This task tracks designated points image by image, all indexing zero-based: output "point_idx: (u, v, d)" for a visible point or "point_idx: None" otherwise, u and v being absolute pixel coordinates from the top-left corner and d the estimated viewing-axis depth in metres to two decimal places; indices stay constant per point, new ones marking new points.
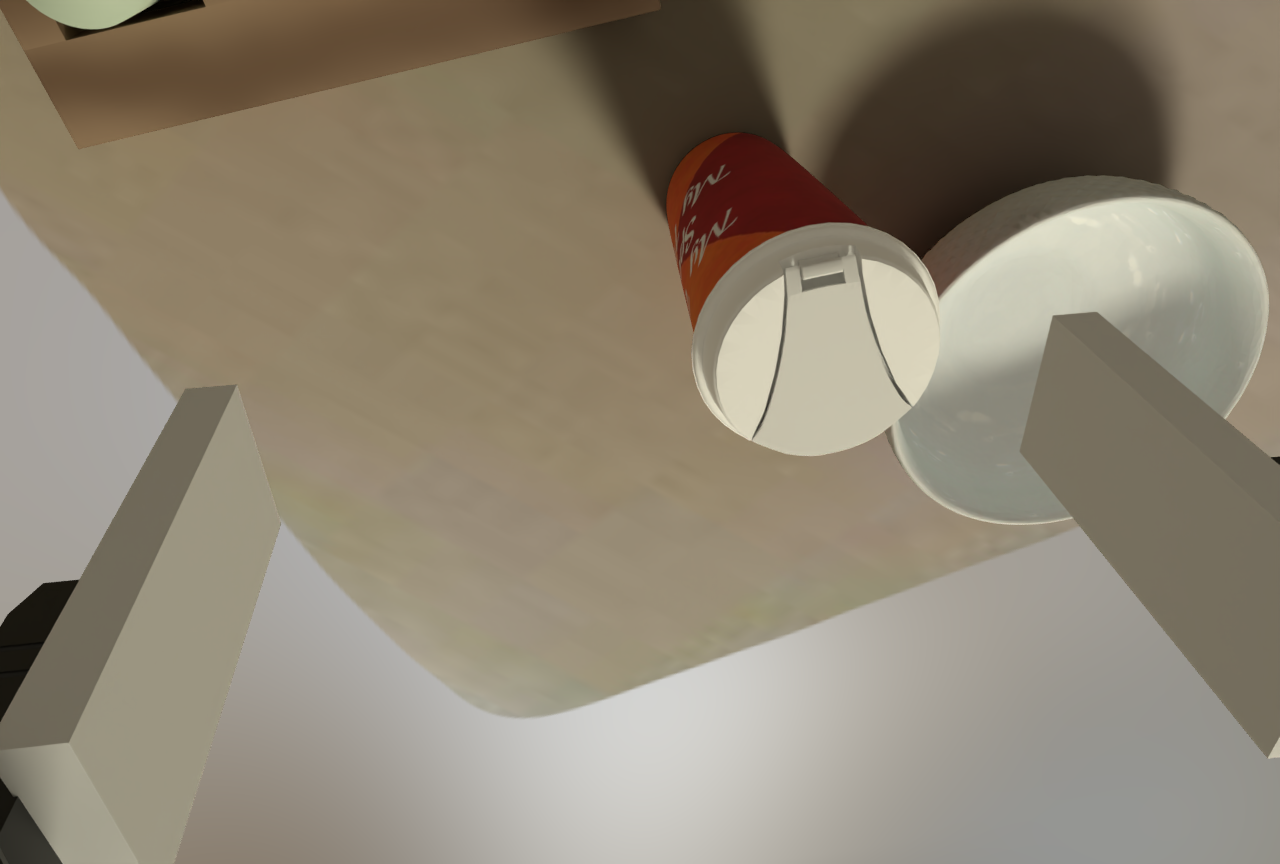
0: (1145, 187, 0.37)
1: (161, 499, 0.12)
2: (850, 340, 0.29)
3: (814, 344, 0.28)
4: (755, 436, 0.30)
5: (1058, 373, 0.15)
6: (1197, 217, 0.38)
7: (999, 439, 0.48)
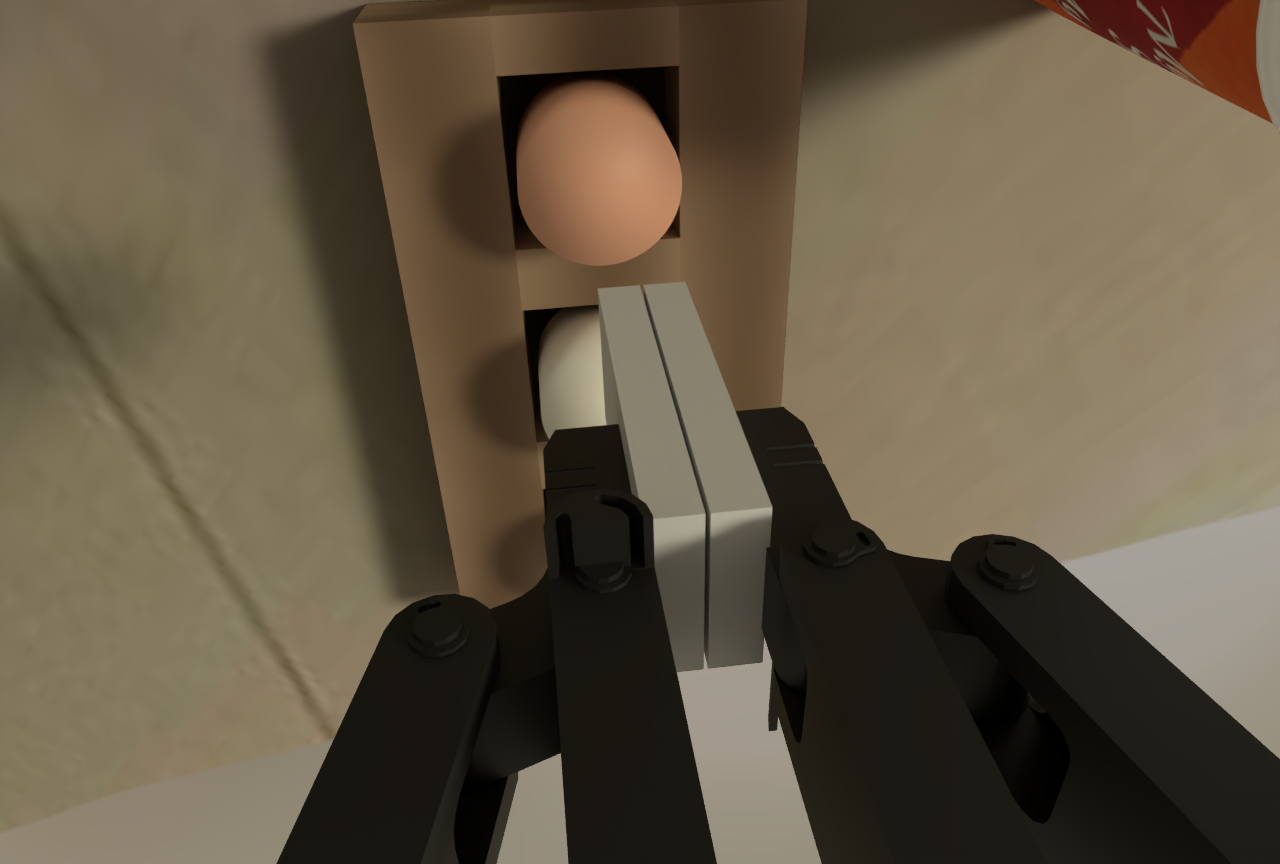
0: None
1: (643, 363, 0.14)
2: None
3: None
4: None
5: None
6: None
7: None
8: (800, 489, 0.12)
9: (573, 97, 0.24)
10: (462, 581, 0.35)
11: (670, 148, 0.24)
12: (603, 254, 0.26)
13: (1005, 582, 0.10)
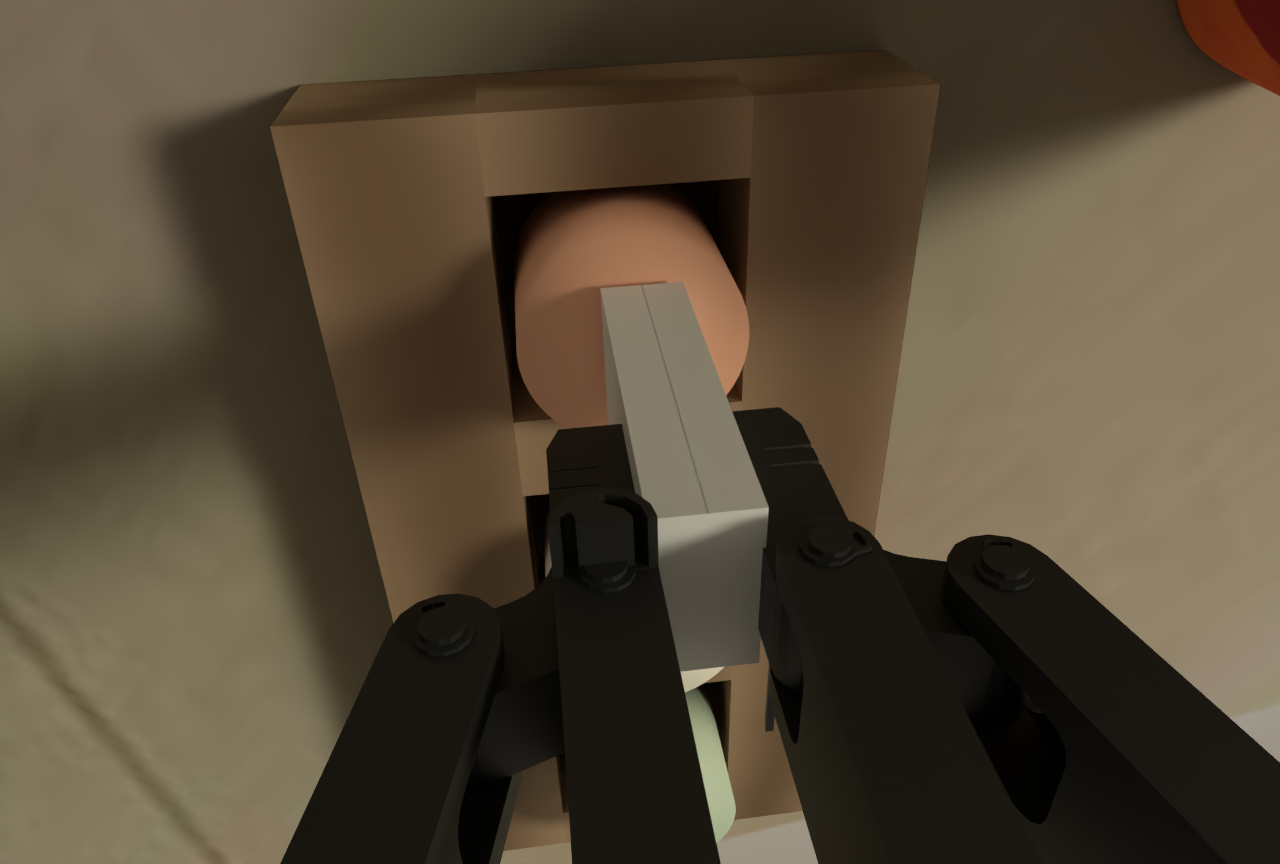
0: None
1: (646, 363, 0.14)
2: None
3: None
4: None
5: None
6: None
7: None
8: (797, 490, 0.12)
9: (596, 218, 0.17)
10: None
11: (734, 291, 0.17)
12: None
13: (1001, 582, 0.10)
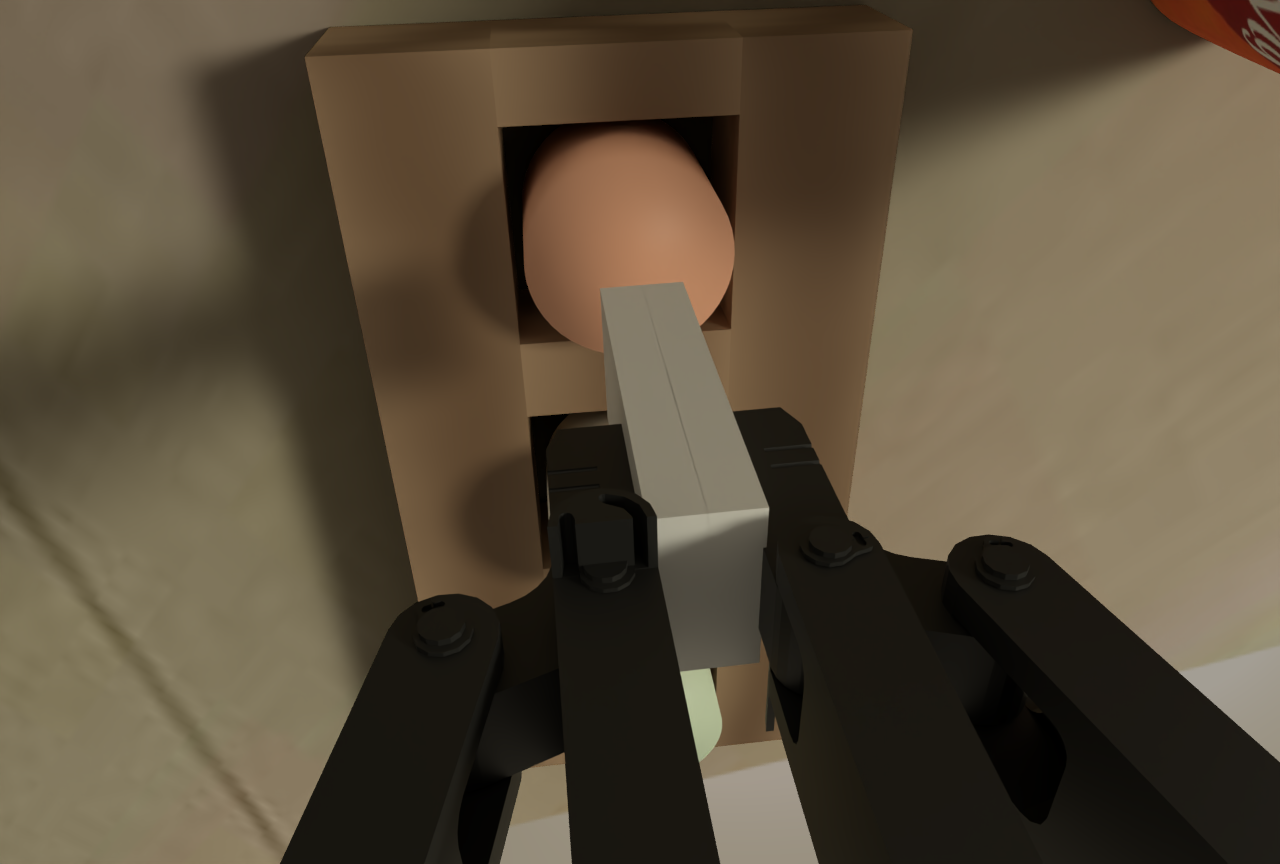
0: None
1: (646, 363, 0.14)
2: None
3: None
4: None
5: None
6: None
7: None
8: (797, 490, 0.12)
9: (597, 145, 0.19)
10: None
11: (721, 212, 0.19)
12: None
13: (1001, 582, 0.10)
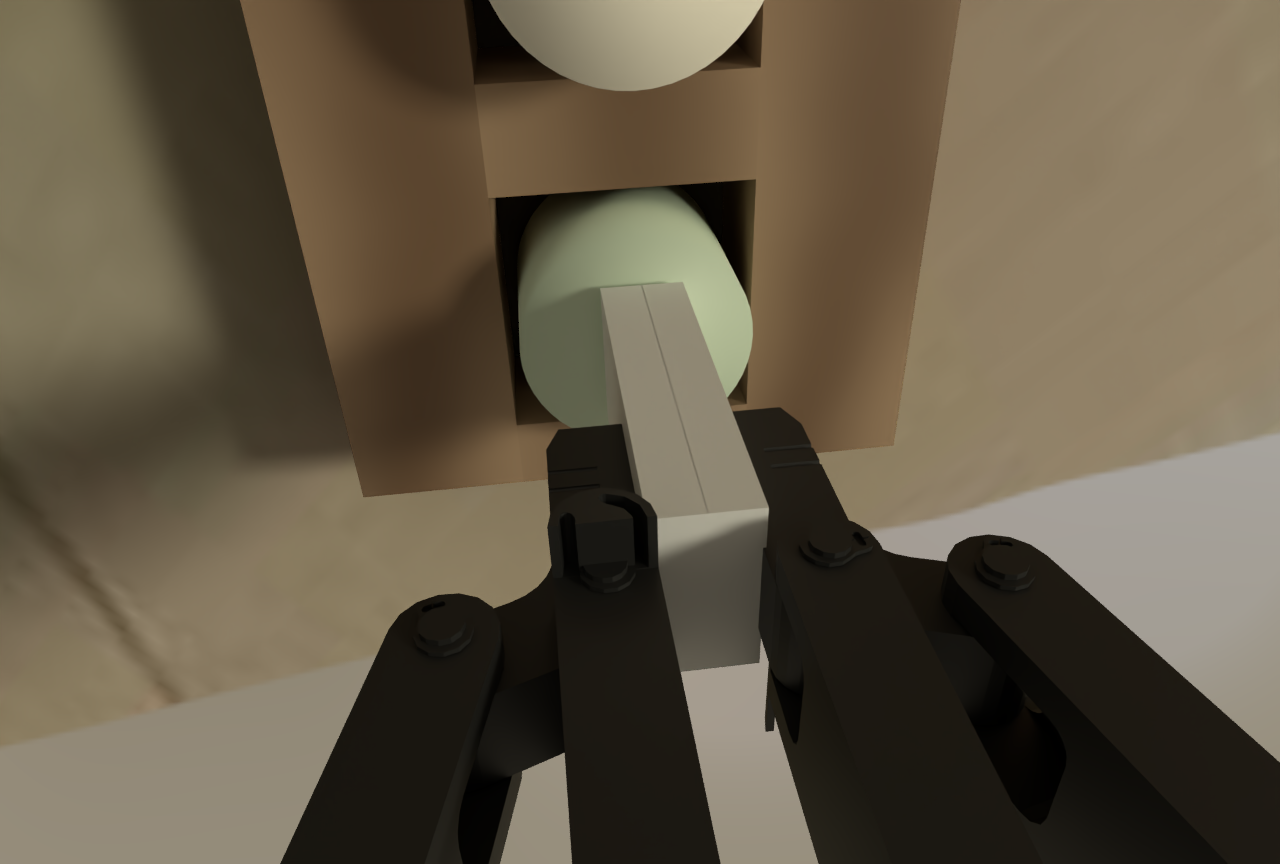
0: None
1: (646, 363, 0.14)
2: None
3: None
4: None
5: None
6: None
7: None
8: (797, 489, 0.12)
9: None
10: (347, 398, 0.19)
11: None
12: None
13: (1002, 582, 0.10)
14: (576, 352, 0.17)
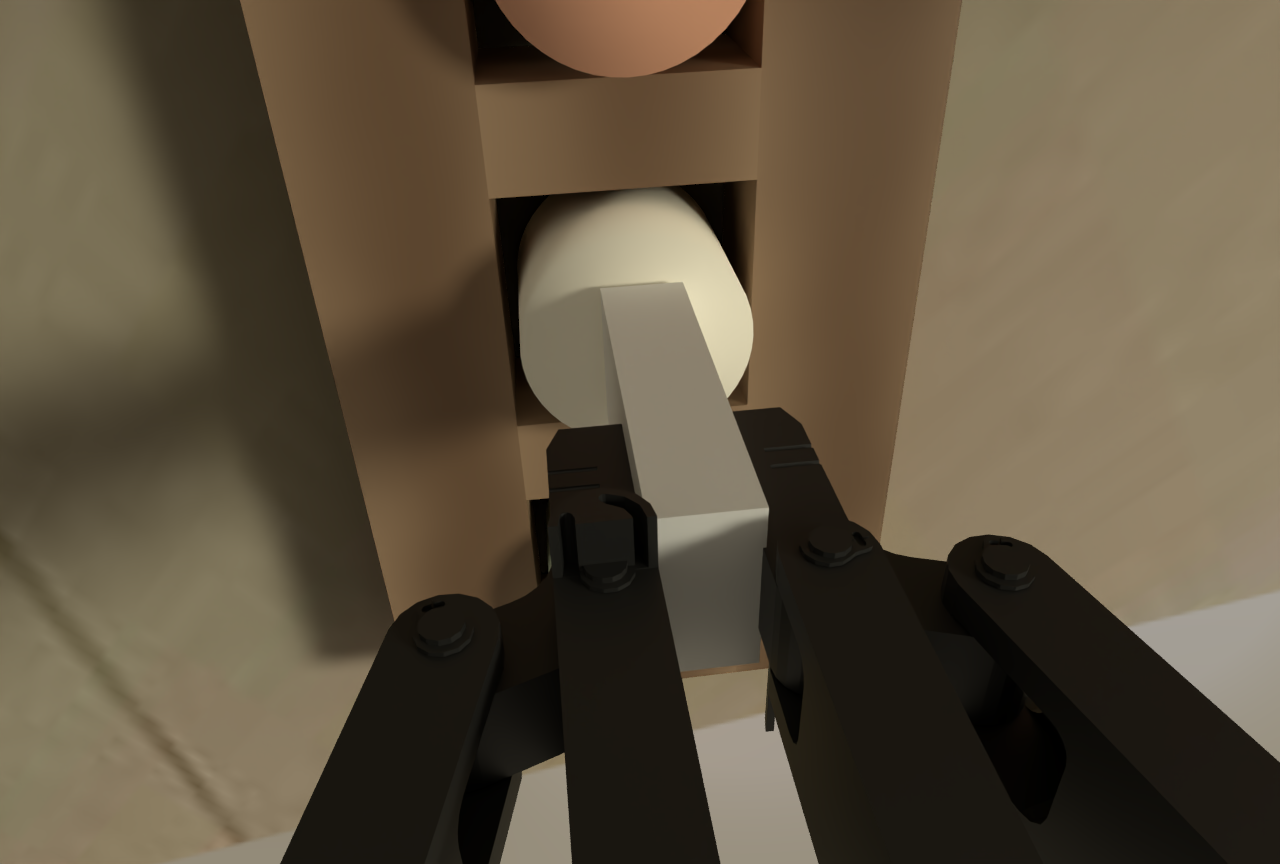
0: None
1: (646, 363, 0.14)
2: None
3: None
4: None
5: None
6: None
7: None
8: (797, 490, 0.12)
9: None
10: None
11: None
12: (626, 55, 0.15)
13: (1001, 581, 0.10)
14: None
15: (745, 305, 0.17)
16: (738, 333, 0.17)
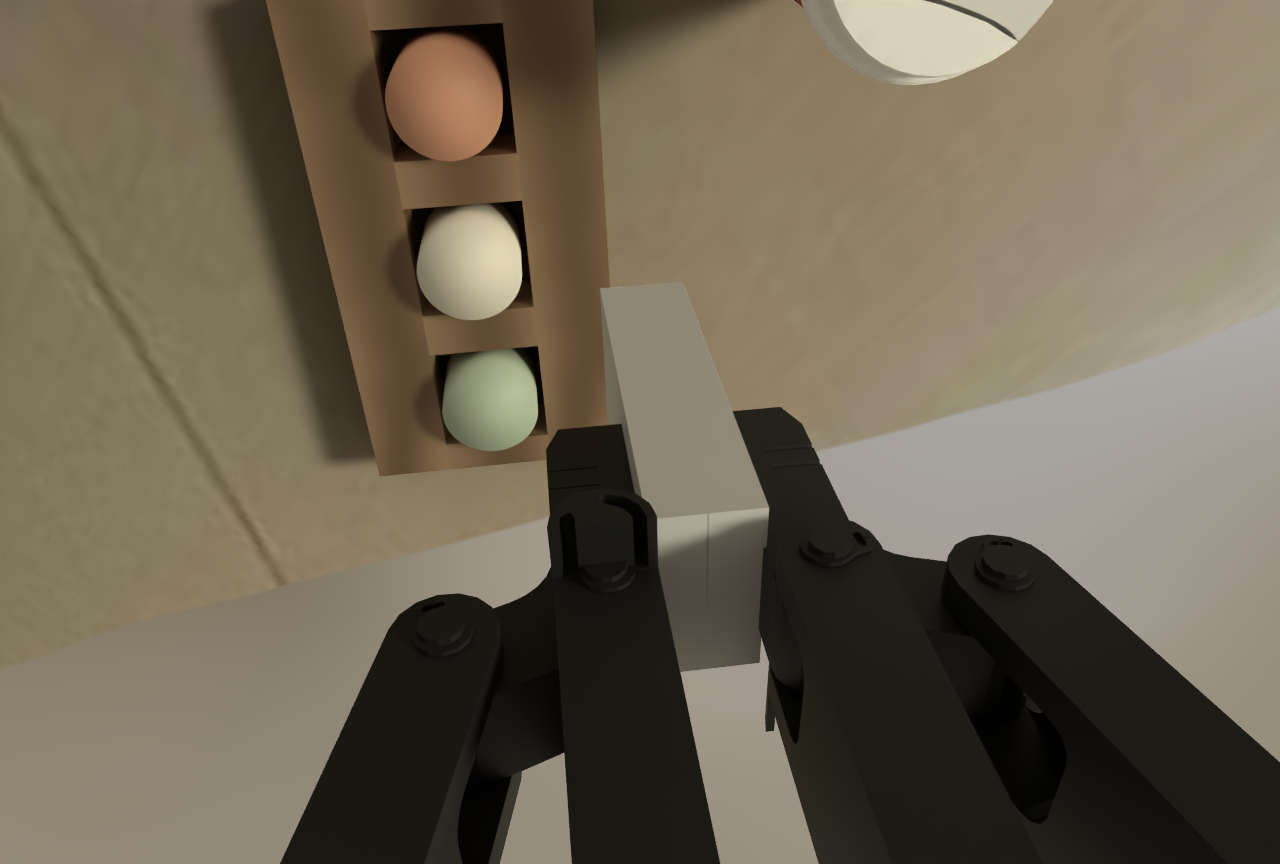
0: None
1: (646, 363, 0.14)
2: None
3: None
4: (1016, 35, 0.26)
5: None
6: None
7: None
8: (797, 490, 0.12)
9: (423, 39, 0.35)
10: (373, 433, 0.45)
11: (491, 74, 0.35)
12: (451, 152, 0.36)
13: (1002, 582, 0.10)
14: (466, 415, 0.43)
15: (516, 255, 0.39)
16: (514, 268, 0.39)
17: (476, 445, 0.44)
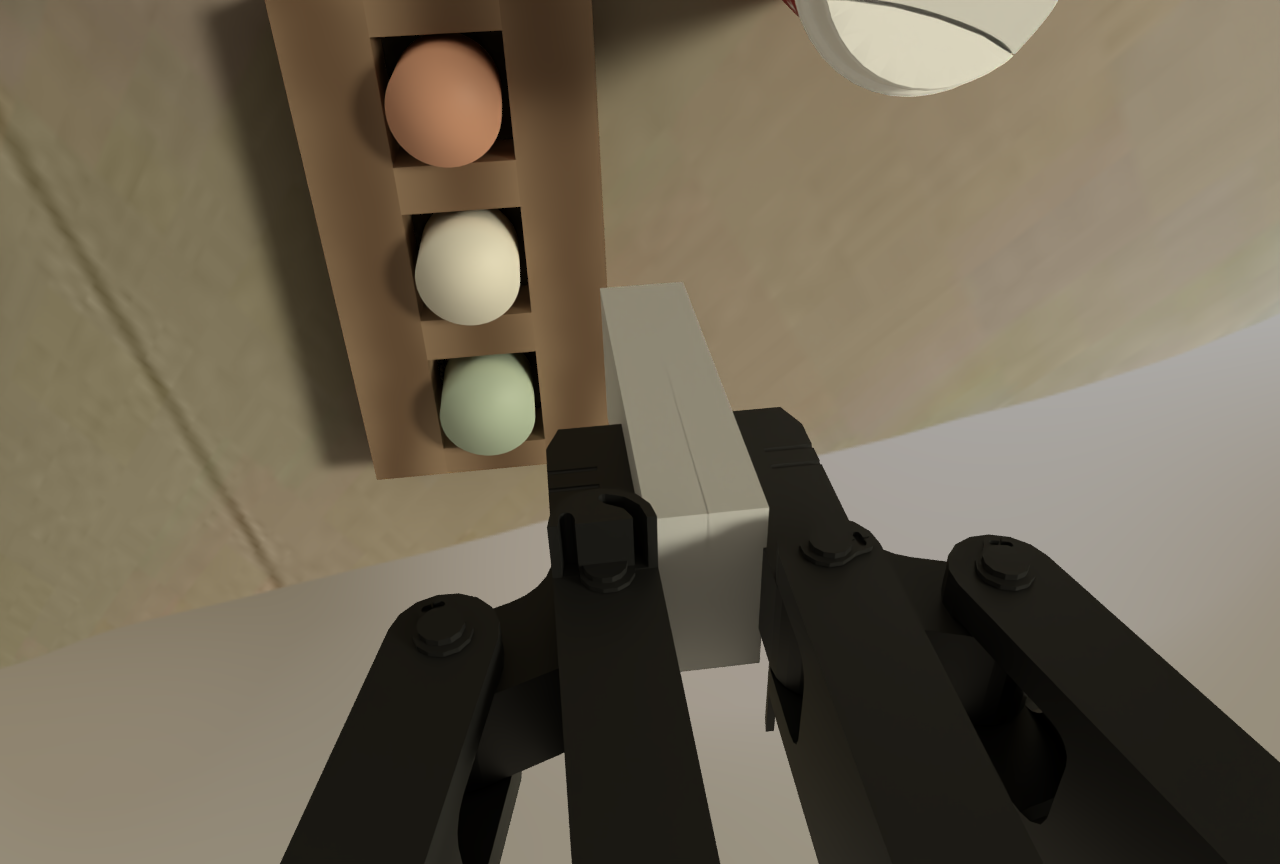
0: None
1: (646, 363, 0.14)
2: None
3: None
4: (1011, 48, 0.26)
5: None
6: None
7: None
8: (797, 489, 0.12)
9: (423, 46, 0.35)
10: (370, 437, 0.45)
11: (490, 82, 0.35)
12: (450, 159, 0.36)
13: (1001, 582, 0.10)
14: (463, 420, 0.43)
15: (514, 261, 0.39)
16: (513, 274, 0.39)
17: (473, 449, 0.44)
